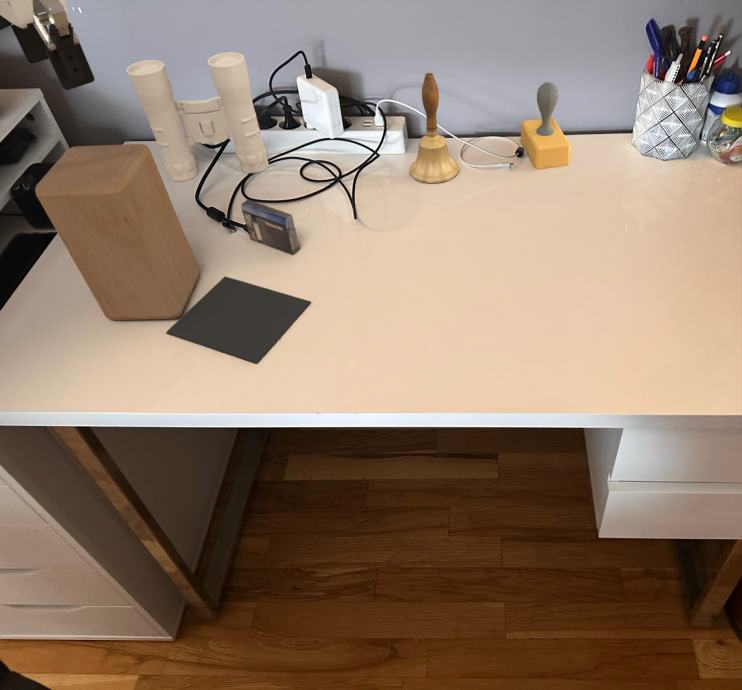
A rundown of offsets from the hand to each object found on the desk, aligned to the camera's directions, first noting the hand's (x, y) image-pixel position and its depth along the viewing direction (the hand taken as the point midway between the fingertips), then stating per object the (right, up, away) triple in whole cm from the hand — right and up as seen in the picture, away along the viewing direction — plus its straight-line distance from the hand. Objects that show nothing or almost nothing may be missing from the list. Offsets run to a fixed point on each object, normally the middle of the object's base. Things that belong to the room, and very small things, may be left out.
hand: (61, 71), depth 72 cm
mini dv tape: (+16, -15, +26) cm, 34 cm away
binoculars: (+2, 0, +42) cm, 42 cm away
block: (+2, -23, +19) cm, 30 cm away
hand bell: (+38, 0, +40) cm, 55 cm away
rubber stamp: (+57, +3, +43) cm, 71 cm away
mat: (+14, -26, +15) cm, 33 cm away
